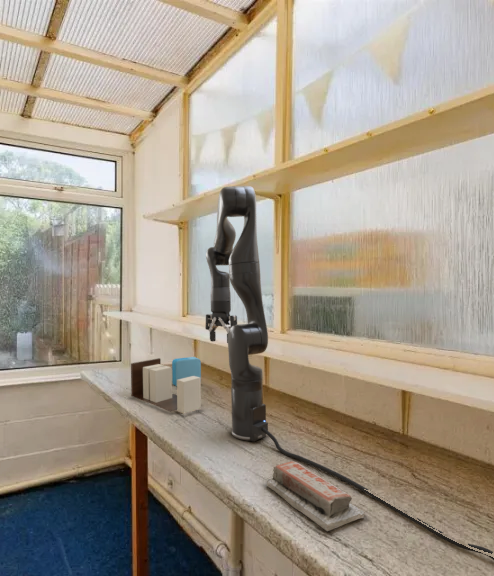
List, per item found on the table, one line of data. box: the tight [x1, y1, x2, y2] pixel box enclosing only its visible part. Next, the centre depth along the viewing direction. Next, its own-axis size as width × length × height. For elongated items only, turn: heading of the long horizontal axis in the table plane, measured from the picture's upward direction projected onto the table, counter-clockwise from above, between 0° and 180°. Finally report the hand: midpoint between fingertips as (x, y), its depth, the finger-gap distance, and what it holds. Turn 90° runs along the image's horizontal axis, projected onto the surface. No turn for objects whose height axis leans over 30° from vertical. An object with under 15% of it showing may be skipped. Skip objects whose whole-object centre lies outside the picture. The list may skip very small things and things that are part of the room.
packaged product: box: [266, 460, 365, 532], centre depth 80 cm, size 18×5×10 cm
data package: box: [171, 356, 202, 387], centre depth 169 cm, size 12×4×12 cm, turn 114°
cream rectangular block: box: [150, 365, 173, 403], centre depth 147 cm, size 4×8×12 cm, turn 130°
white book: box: [143, 363, 165, 400], centre depth 150 cm, size 4×8×12 cm, turn 130°
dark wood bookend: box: [130, 357, 177, 412], centre depth 147 cm, size 25×14×14 cm, turn 40°
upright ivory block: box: [176, 376, 202, 415], centre depth 135 cm, size 4×8×12 cm, turn 130°
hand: (221, 342), depth 145 cm, fingers open, 8 cm apart
